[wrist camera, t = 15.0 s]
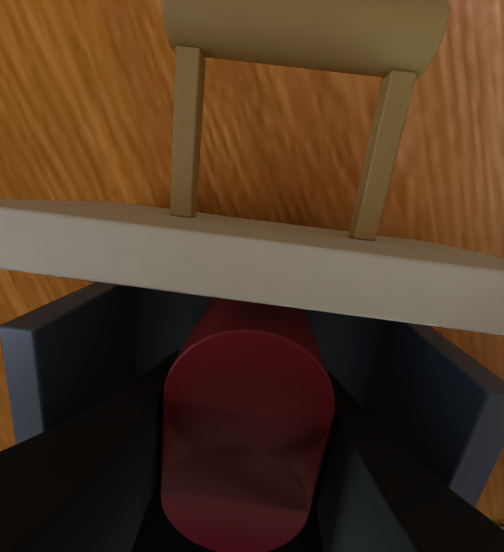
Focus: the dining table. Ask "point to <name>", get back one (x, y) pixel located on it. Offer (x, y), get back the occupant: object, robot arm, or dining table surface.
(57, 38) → the dining table surface
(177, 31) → the drawer
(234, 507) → the red capsule case
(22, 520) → the robot arm
